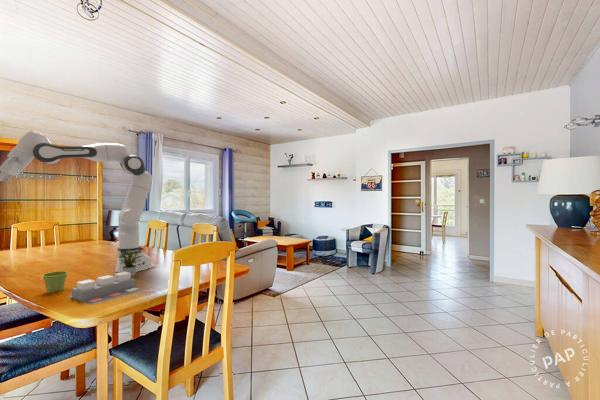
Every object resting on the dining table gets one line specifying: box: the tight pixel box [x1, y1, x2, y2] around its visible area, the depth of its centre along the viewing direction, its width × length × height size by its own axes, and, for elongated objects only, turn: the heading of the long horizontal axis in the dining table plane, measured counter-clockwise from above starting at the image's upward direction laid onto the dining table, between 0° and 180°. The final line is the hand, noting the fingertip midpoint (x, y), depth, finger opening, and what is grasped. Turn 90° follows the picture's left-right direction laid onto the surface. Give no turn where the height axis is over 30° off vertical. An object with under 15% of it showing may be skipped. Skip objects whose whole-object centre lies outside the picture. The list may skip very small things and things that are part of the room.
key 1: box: [76, 278, 96, 291], centre depth 126 cm, size 5×5×5 cm
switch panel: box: [67, 277, 145, 306], centre depth 132 cm, size 23×20×5 cm
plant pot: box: [41, 270, 69, 294], centre depth 135 cm, size 9×9×9 cm
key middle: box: [96, 274, 115, 286], centre depth 133 cm, size 5×5×5 cm
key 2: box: [114, 272, 132, 282], centre depth 140 cm, size 5×5×5 cm
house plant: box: [117, 250, 142, 277], centre depth 159 cm, size 14×14×16 cm
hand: (1, 181), depth 142 cm, fingers open, 8 cm apart
